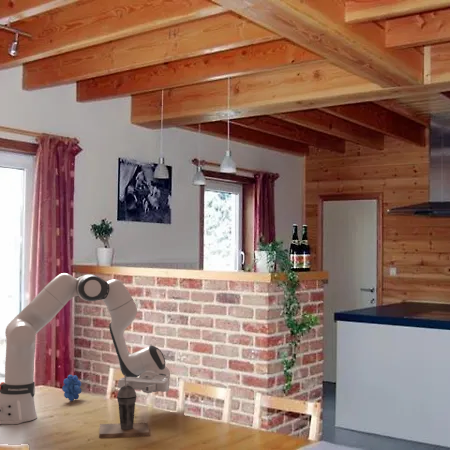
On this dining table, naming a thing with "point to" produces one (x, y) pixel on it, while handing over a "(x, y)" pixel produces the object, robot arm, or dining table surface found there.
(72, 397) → the grapes
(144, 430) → the walnut board
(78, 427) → the dining table surface
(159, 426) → the dining table surface
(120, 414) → the beverage cup
